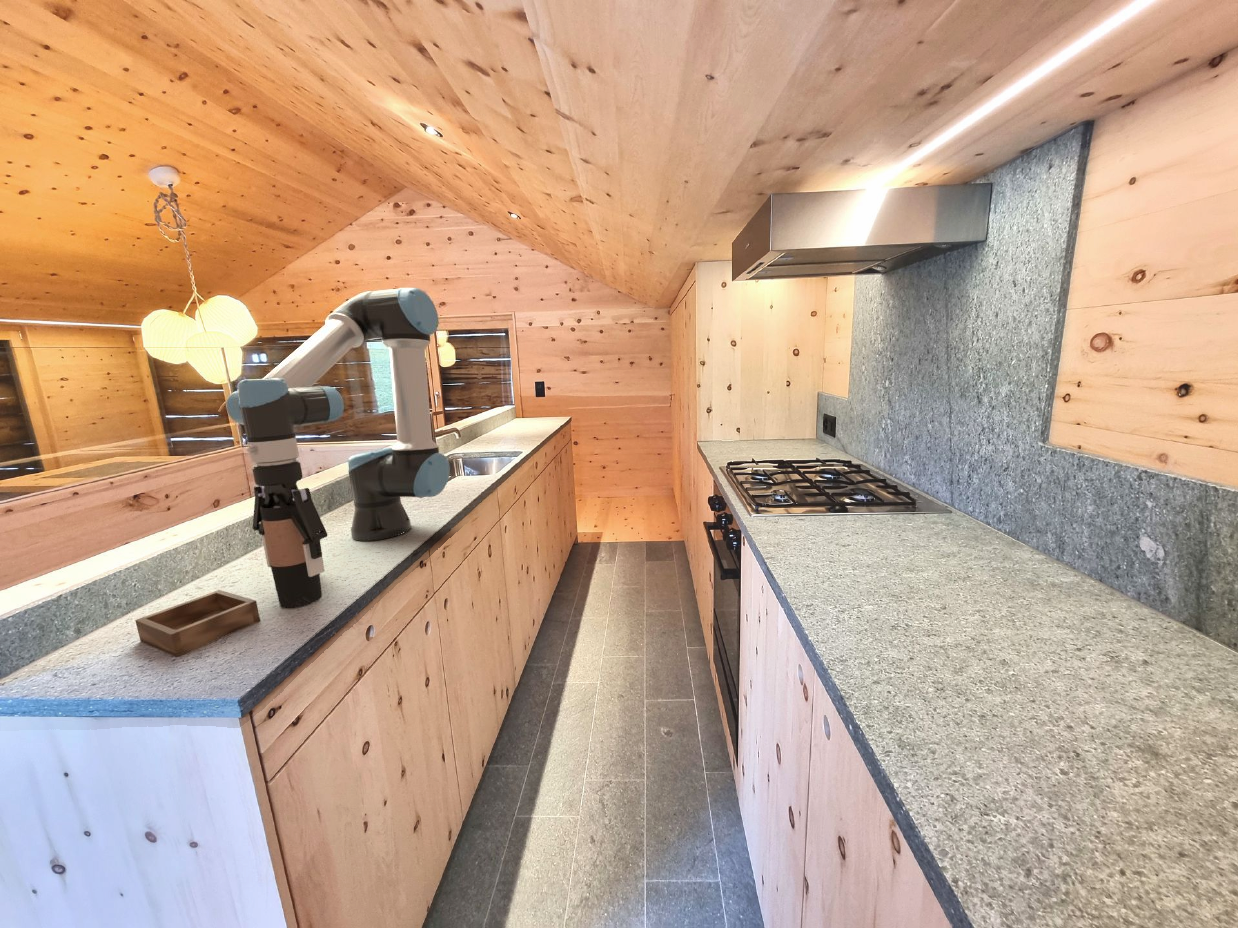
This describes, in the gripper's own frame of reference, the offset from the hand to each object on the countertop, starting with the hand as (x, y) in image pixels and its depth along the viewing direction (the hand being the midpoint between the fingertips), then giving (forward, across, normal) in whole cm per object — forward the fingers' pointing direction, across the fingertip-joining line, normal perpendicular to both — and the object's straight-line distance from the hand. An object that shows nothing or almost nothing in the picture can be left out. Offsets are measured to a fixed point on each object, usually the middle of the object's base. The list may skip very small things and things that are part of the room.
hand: (295, 569), depth 98 cm
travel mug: (+7, 0, 0) cm, 7 cm away
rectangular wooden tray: (+7, -5, -14) cm, 17 cm away
